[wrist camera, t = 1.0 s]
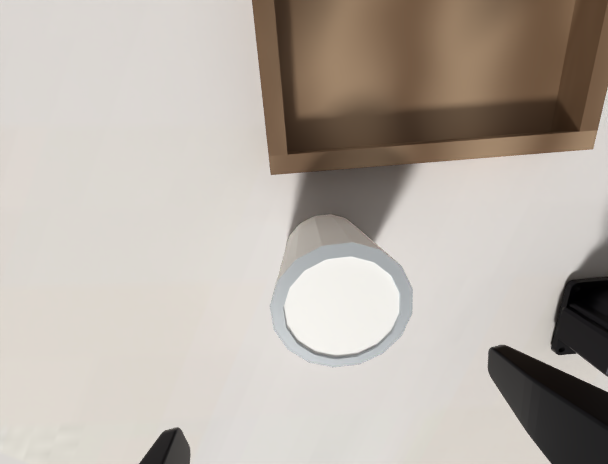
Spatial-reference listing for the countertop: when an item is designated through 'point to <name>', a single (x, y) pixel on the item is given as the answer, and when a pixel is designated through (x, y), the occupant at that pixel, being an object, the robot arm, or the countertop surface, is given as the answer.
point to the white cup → (338, 294)
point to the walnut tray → (428, 79)
